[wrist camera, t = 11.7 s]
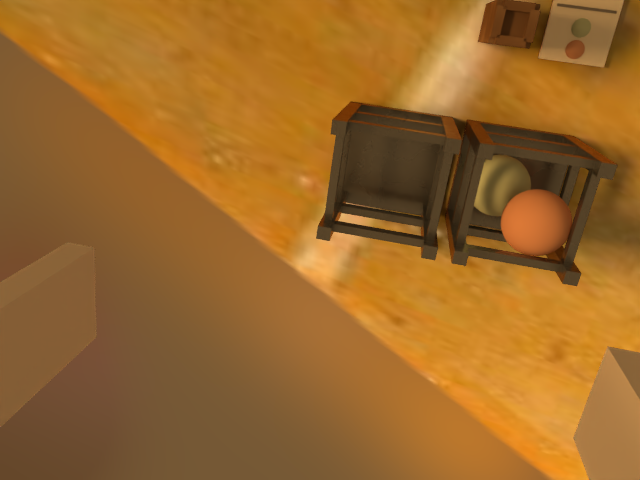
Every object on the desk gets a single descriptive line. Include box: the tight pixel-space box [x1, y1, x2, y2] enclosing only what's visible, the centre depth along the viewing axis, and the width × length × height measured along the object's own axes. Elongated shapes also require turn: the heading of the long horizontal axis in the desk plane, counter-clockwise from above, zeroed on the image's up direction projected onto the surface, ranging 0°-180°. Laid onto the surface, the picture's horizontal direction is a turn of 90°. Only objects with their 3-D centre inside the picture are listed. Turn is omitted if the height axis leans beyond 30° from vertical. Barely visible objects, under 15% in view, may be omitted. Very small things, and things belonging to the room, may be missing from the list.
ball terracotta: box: [501, 189, 572, 256], centre depth 42 cm, size 5×5×5 cm
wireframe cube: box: [316, 102, 462, 260], centre depth 44 cm, size 9×9×11 cm
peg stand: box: [478, 0, 540, 49], centre depth 41 cm, size 3×3×8 cm
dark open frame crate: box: [445, 120, 617, 286], centre depth 43 cm, size 9×9×11 cm
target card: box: [538, 0, 624, 67], centre depth 43 cm, size 8×5×1 cm, turn 173°
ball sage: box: [474, 155, 531, 216], centre depth 45 cm, size 5×5×5 cm
